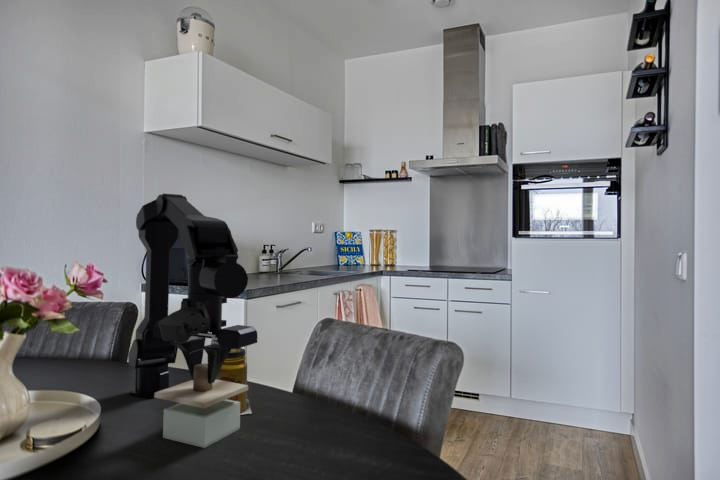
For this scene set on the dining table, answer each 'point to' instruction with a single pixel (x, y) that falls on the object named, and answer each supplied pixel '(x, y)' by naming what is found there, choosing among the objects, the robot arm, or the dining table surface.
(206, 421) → the mint green open box
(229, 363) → the condiment
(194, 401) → the lid
